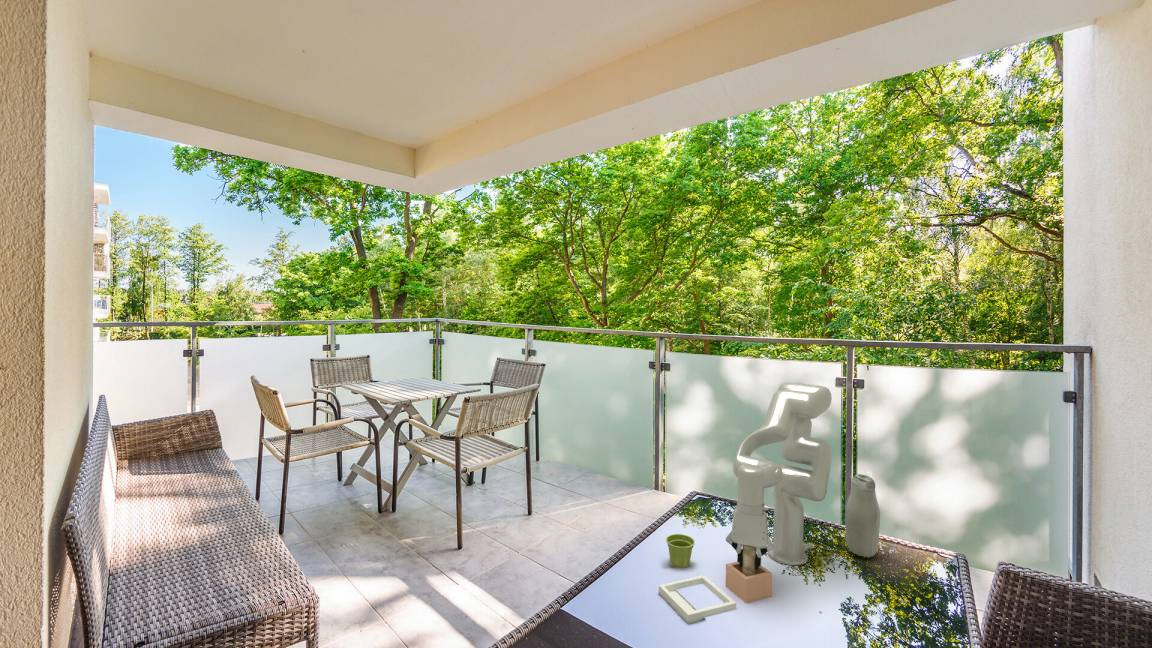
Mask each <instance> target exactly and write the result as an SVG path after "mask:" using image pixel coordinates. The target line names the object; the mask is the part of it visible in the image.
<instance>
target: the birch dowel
mask: <svg viewBox="0 0 1152 648" xmlns="http://www.w3.org/2000/svg"><path fill="white" fill-rule="evenodd" d="M756 554H757V551H756V547H752V546H747V545H742V573H743V574H744V575H745V576H752V575H756V570H755V559H756Z"/></svg>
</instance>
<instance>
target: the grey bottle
mask: <svg viewBox="0 0 1152 648" xmlns="http://www.w3.org/2000/svg"><path fill="white" fill-rule="evenodd" d="M880 524H881V511H880V505H879V503H878V499H877V493H876V482H875V481H874V479H873V478H872V477H870V476H868V475H867V474H866V475H865V474H861V473H857V474H855V475H854V476H852V478H851V480H850V491H849V496H848V497H847V502H846V505H845V543H846V545H847V548H848V549H849V551H850V552H852V553H853V554H854V555H855V554H857V555H859V556H858V557H860V556H864V557H863V558H866V557H867V558H871V557H873V556H874V555H875V554H876V553H877V552H878V551H879V544H880V543H879V542H880ZM857 555H856V556H857ZM870 556H871V557H870Z"/></svg>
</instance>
